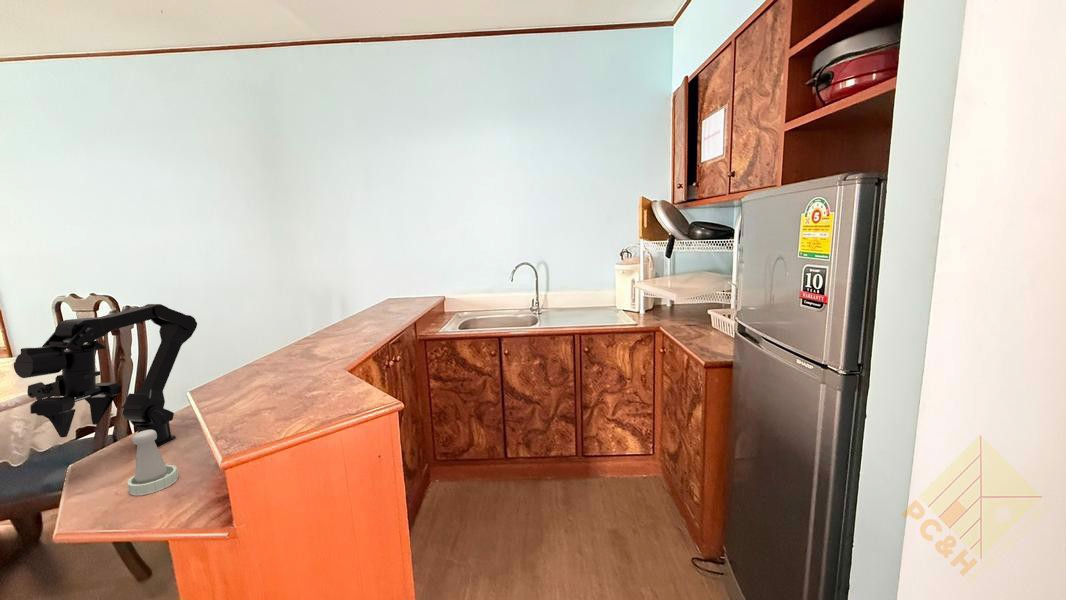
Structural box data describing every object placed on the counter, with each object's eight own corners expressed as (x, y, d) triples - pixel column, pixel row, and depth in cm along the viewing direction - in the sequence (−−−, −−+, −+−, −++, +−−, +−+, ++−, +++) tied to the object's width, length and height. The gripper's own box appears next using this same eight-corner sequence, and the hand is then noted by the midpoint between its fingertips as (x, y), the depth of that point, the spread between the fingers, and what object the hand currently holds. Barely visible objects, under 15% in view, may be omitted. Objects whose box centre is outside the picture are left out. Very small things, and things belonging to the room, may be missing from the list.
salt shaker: (149, 490, 98) (140, 438, 96) (129, 488, 99) (120, 437, 97) (174, 476, 104) (166, 427, 102) (155, 474, 105) (147, 426, 103)
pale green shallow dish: (158, 473, 107) (156, 463, 106) (187, 475, 105) (185, 466, 105) (119, 493, 98) (117, 484, 98) (149, 497, 97) (148, 487, 96)
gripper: (74, 362, 113) (75, 419, 113) (0, 378, 94) (2, 446, 95) (122, 362, 115) (123, 418, 116) (59, 377, 97) (60, 444, 97)
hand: (80, 430), depth 106 cm, fingers open, 9 cm apart
